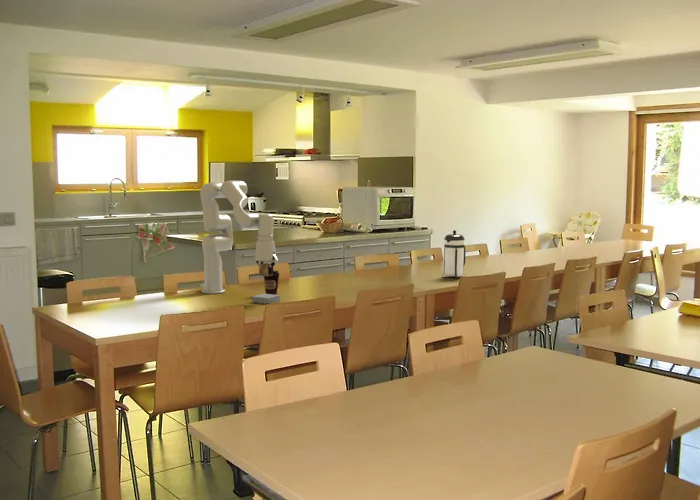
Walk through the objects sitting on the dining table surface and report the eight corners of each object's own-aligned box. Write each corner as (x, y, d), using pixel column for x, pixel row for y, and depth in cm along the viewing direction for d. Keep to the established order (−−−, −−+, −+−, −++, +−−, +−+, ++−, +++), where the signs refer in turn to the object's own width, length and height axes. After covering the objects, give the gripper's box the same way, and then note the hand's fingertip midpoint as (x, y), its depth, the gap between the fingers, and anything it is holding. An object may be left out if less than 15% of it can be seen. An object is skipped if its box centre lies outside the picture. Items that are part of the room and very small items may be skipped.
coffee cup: (276, 296, 380) (276, 272, 378) (261, 295, 381) (261, 271, 380) (281, 293, 388) (281, 270, 387) (266, 293, 390) (266, 269, 388)
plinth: (252, 302, 363) (252, 296, 362) (264, 299, 371) (264, 293, 371) (268, 304, 358) (268, 298, 357) (279, 301, 366) (279, 295, 366)
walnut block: (259, 275, 362) (259, 263, 361) (265, 274, 366) (265, 262, 365) (267, 276, 359) (266, 264, 359) (273, 275, 364) (272, 263, 363)
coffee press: (468, 279, 448) (469, 231, 444) (443, 278, 448) (444, 231, 445) (464, 275, 465) (465, 229, 462) (440, 275, 465) (441, 228, 462)
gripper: (247, 238, 362) (248, 274, 364) (275, 239, 353) (275, 276, 355) (256, 237, 368) (257, 272, 370) (283, 238, 360) (284, 274, 362)
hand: (266, 273), depth 363 cm, fingers closed on walnut block, 5 cm apart
